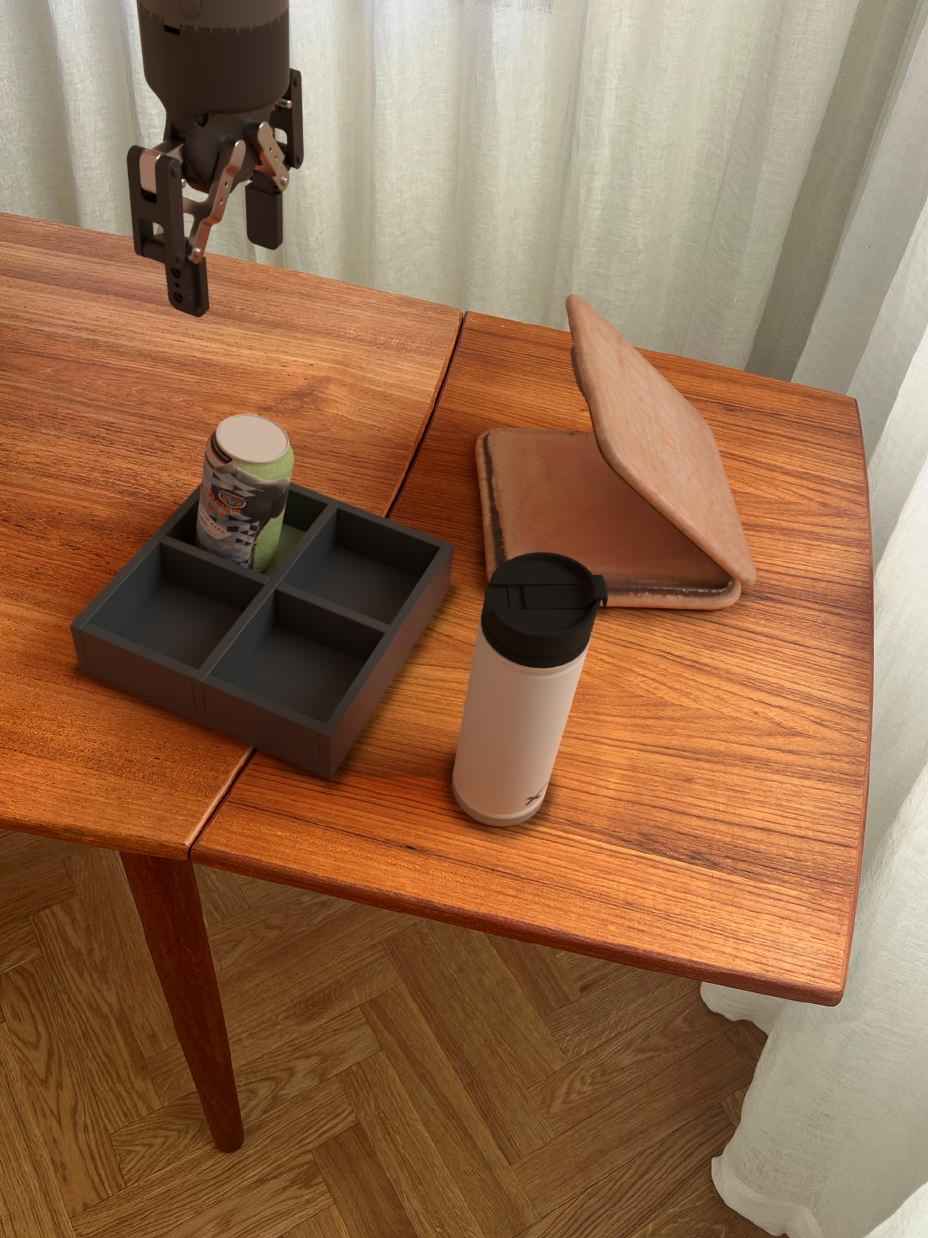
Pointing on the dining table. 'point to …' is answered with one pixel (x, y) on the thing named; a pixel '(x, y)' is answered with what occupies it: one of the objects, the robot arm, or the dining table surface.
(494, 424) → the dining table surface
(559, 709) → the travel mug
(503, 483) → the case
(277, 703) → the four compartment organizer
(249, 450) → the beverage can
